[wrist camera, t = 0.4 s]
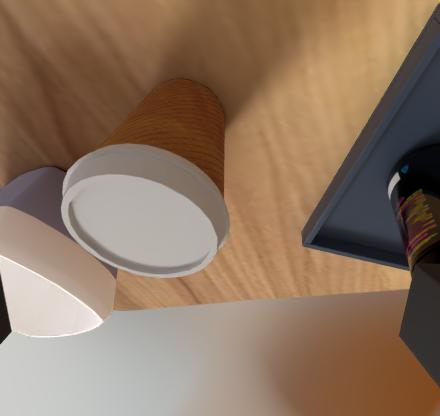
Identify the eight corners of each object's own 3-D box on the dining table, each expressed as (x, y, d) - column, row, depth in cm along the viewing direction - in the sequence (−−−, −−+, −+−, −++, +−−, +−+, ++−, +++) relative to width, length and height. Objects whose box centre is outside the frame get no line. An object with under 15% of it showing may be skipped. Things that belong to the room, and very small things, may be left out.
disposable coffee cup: (271, 117, 25) (264, 241, 17) (196, 181, 31) (164, 296, 23) (169, 24, 22) (97, 126, 13) (105, 116, 27) (28, 228, 19)
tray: (438, 3, 19) (449, 14, 17) (653, 60, 19) (680, 75, 18) (301, 231, 34) (302, 246, 33) (423, 260, 35) (428, 275, 34)
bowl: (47, 127, 29) (-38, 223, 21) (162, 231, 37) (130, 327, 30) (-34, 186, 36) (-119, 273, 29) (77, 262, 45) (34, 345, 37)
